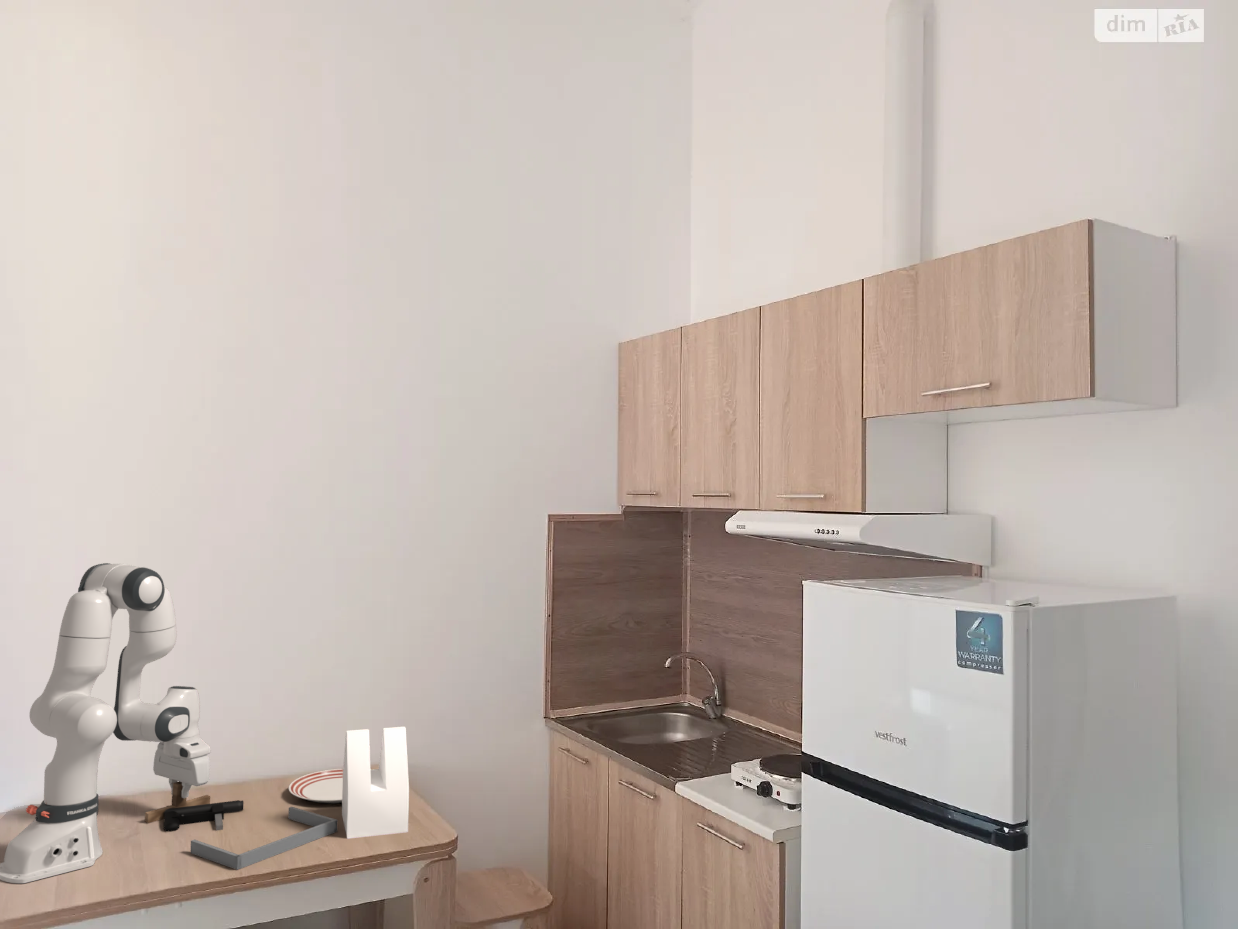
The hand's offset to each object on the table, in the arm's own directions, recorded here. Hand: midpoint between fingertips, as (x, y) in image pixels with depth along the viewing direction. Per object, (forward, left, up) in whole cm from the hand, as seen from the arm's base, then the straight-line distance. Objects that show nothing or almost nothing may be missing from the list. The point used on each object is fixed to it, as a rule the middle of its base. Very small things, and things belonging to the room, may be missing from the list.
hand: (180, 796), depth 259 cm
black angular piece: (0, -11, -5) cm, 12 cm away
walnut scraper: (0, +1, -5) cm, 5 cm away
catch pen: (0, -36, -5) cm, 37 cm away
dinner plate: (+37, -21, -5) cm, 43 cm away
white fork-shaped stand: (+25, -48, -5) cm, 55 cm away
